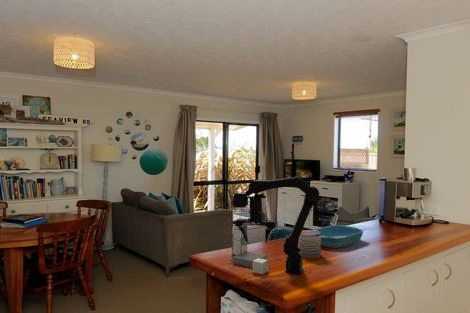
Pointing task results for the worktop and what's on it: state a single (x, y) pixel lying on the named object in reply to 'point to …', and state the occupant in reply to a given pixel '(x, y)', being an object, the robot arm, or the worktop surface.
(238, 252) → the syrup box
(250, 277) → the worktop surface
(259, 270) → the cube
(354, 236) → the casserole dish
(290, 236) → the robot arm
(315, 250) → the can
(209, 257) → the worktop surface
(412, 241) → the worktop surface
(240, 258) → the plinth
